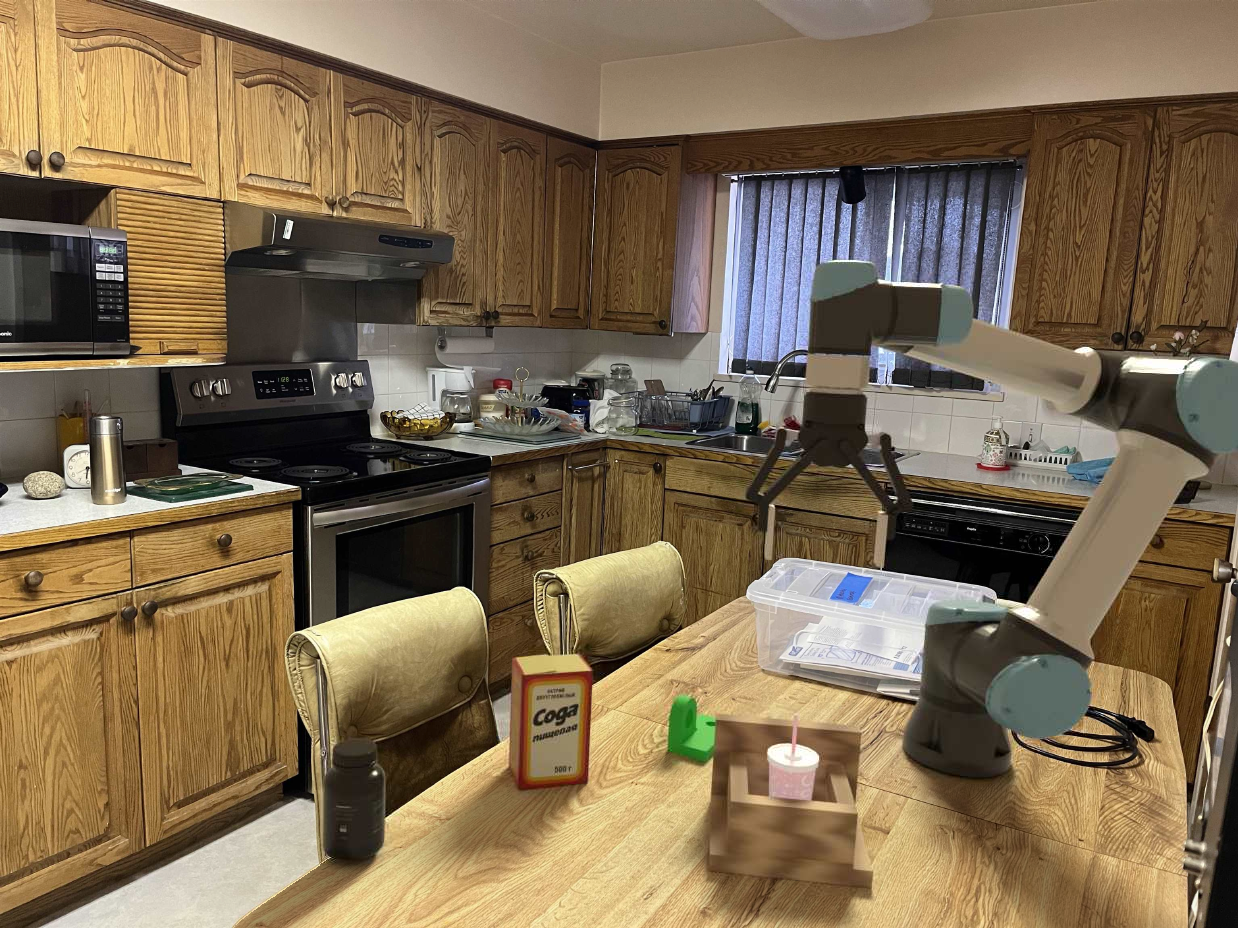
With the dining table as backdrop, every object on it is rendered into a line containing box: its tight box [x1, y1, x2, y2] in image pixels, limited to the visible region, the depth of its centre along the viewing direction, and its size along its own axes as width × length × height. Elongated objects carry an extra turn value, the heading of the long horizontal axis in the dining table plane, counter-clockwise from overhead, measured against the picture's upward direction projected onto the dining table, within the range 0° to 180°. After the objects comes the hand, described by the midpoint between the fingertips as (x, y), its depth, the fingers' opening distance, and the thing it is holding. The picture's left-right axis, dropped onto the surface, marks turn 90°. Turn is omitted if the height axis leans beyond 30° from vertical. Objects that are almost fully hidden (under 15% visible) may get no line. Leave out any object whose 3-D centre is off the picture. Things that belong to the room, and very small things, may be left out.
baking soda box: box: [508, 653, 594, 791], centre depth 124 cm, size 10×6×16 cm
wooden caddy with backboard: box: [708, 712, 874, 889], centre depth 110 cm, size 18×16×12 cm
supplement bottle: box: [322, 737, 386, 863], centre depth 104 cm, size 7×7×12 cm
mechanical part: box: [666, 694, 716, 763], centre depth 137 cm, size 12×6×8 cm, turn 152°
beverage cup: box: [767, 713, 819, 801], centre depth 109 cm, size 6×6×14 cm
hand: (822, 561), depth 115 cm, fingers open, 13 cm apart
